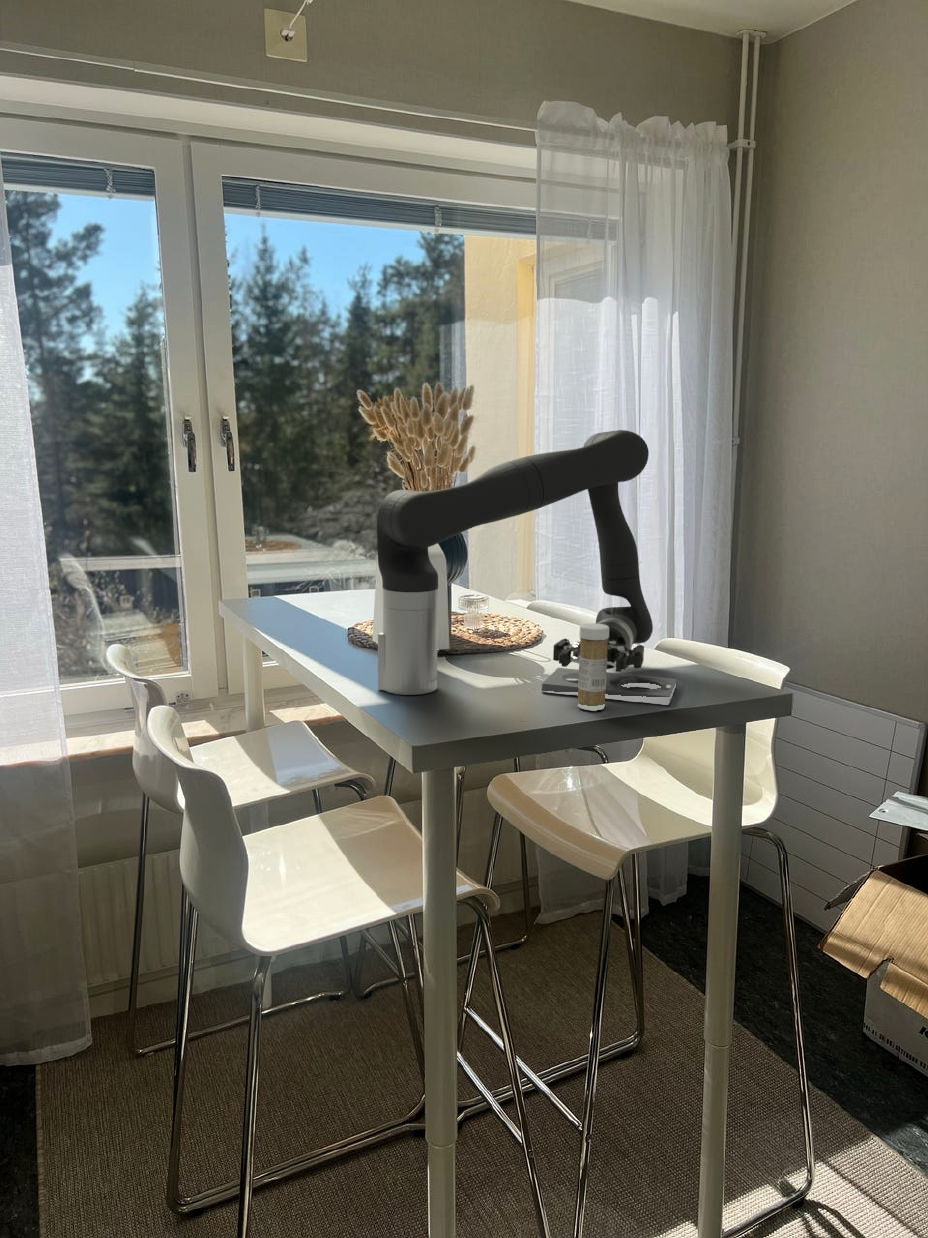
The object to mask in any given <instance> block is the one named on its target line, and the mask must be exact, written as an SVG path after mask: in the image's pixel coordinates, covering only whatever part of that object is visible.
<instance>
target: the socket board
mask: <svg viewBox="0 0 928 1238" xmlns="http://www.w3.org/2000/svg"><path fill="white" fill-rule="evenodd" d="M578 681H579V669H576V668H566V667H557V668H556V669H555V670H554V671H553V672H552V673H551V674H550V675H549V676H548V677H547V678H546V679H545V680H544V681H543V682H542V684H541V692H542V691H554V692H578V690H579V688H578ZM676 682H677V683H678V679H677V678H671V677H659V676H649V675H641V674H640V675H639V674H630V673H629V674H627V673H620V672H617V673H616V672H608V671H607V675H606V690H605V691H606V692H605V694H608V695H621V696H642V697H643V696H646V697H670V695H671V693H672V690H673V688H674V686H675V684H676ZM628 683H650V684H656V685H659V686H661V688H657V689H652V690H650V689H640V688H627V687H623V686H621V685H624V684H628Z"/></svg>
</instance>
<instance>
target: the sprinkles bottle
mask: <svg viewBox="0 0 928 1238" xmlns="http://www.w3.org/2000/svg"><path fill="white" fill-rule="evenodd" d="M608 638H609V627H608V626H607V625H604V624H596V622H595V623H583V624H581V625H580V626H579V641H581V642H580V656H579V664H578V670H579V681H578V688H579V690H578V697H577V698H578V699H577V704H578V703H579V704H581V705H587V706H598V705H603V704H605V705H606V700H605V692H606V691H605V690H606V675H607V672H608V669H607V643H608Z"/></svg>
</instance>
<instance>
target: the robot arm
mask: <svg viewBox="0 0 928 1238" xmlns="http://www.w3.org/2000/svg"><path fill="white" fill-rule="evenodd" d="M649 454H650V452H649V447H648V445H647V443H646V441H645V440H644V439H643V437H642V436H640V435H639V434H638V433H635V432H634V431H630V430H625V429H623V430H622V429H620V430H618V429H617V430H612V431H611V430H610V431H604V432H603V431H602V432H597V433H594V434H592V435H591V436H589V438H587V440H586V441H585V442H584V444H583V446H582V447H579V448H574V449H568V450H567V449H566V450H559V451H551V452H543V453H538V454H531V455H528V456H524V457H519V458H517V459H513V460H509V461H506V462H503V463H500V464H498V465H495V466H493V467H491V468H489V469H488V470H486V471H484V472H483V473H481V474H479V475H478V476H477V477H475V478H474V479H472V480H471V481H468V482H466V483H463V484H460V485H457V486H452V487H447V488H442V489H438V490H431V491H420V490H412V489H399V490H395V491H391V492H390V493H388V494H387V495H386V496H385V497H384V498H383V499H382V501H381V503H380V504H379V507H378V511H377V516H376V546H377V557H378V566H379V570H380V573H381V576H382V587H383V632H381V633H379V634H378V647H377V690H380V691H385V692H387V693H389V694H394V695H403V696H411V695H412V696H414V695H425V694H429V693H432V692H435V691H436V690H437V688H438V651H437V638H438V573H437V571H436V570H435V568H434V567H433V565H432V564H431V562H430V559H429V555H428V547H430V546H433V545H435V544H437V543H438V544H440V543H441V542H444V541H446V540H448V539H450V538H452V537H454V536H456V535H459V534H460V533H461V534H462V533H463V532H465V531H468V530H470V529H472V528H475V527H478V526H482V525H486V524H491V523H494V522H495V523H496V522H499V521H502V520H506V519H509V518H513V517H516V516H517V517H518V516H521V515H523V514H526V513H529V512H533V511H536V510H538V509H541V508H544V507H547V506H548V505H551V504H554V503H557V502H559V501H562V500H564V499H566V498H569V497H572V496H574V495H576V494H578V493H581V492H584V491H587V492H588V493H587V494H588V497H589V502H590V507H591V512H592V515H593V518H594V519H593V520H594V524H595V529H596V533H597V534H596V536H597V540H598V541H597V542H598V549H599V559H600V562H599V563H600V576H601V588H602V591H603V593H604V594H606V595H610V596H614V597H619V598H623V599H625V600H626V601H627V602H628V603H629V605H630V606H612V607H610V606H609V607H605V608H602V609H600V610H599V611H598V612H597V615H596V619H595V624H604V625H607V626H608V627H609V638H608V643H607V670H611V669H614V668H615V673H616V672H617V673H622V671H623V670H624V671H625V670H627V669H629V668H630V666H633V668H635V669H641V668H642V667H643V664H644V656H645V646H644V645H642V644H645V643H646V642H647V641H649V640H650V638H651V636H652V634H653V629H654V628H653V627H654V625H653V621H652V620H653V619H652V616H651V613H650V611H649V608H648V606H647V603H646V601H645V597H644V594H643V592H642V585H641V581H640V565H639V564H640V563H639V562H640V561H639V553H638V546H637V544H636V540H635V537H634V534H633V533H632V530H631V528H630V526H629V524H628V522H627V520H626V519H627V518H626V517H625V514H624V512H623V509H622V506H621V505H622V504H621V502H620V494H619V483H625V482H628V481H631V480H633V479H635V478H636V477H638V476H639V475H640V474H641V473H643V471H644V469H645V467H646V466H647V463H648V460H649ZM580 642H581V640H579V641H575V642H573V643H572V644H571V641H570V639H568V638H562V639H561V640H559V641H557V642H556V643H554V644H553V652H552V653H553V655H552V656H553V657H552V658H553V659H552V660H553V661H555V662H558V664H560V665H561V668H566V667H568V666H569V664H571V663H576V664H578V665H579V656H580ZM634 644H639V645H636V646H633V645H634ZM632 646H633V649H632Z"/></svg>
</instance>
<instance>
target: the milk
mask: <svg viewBox="0 0 928 1238" xmlns="http://www.w3.org/2000/svg"><path fill="white" fill-rule="evenodd" d="M428 555H429V559H430V562H431V564H432V565H433V567H434V568H435V570H436V571H437V573H438V638H437V649H449V650H450V631H449V629H450V628H449V625H450V624H449V600H448V599H449V598H448V597H449V595H448V569H447V567H448V565H447V564H448V563H447V558H446V555H445V553H444V551H443V550H442V548H441V546H440V544H439V543H437V544H435V545H433V546H430V547H428ZM375 572H376V574H375V585H374V586H375V587H374V589H375V590H374V608H373V622H372V638H371V639H372V641H374V642H376V643H377V644H378V634H379V633H381V632H383V587H382V576H381V573H380V570H379V566H378V556H377V558H376V571H375ZM372 641H371V642H372Z"/></svg>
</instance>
